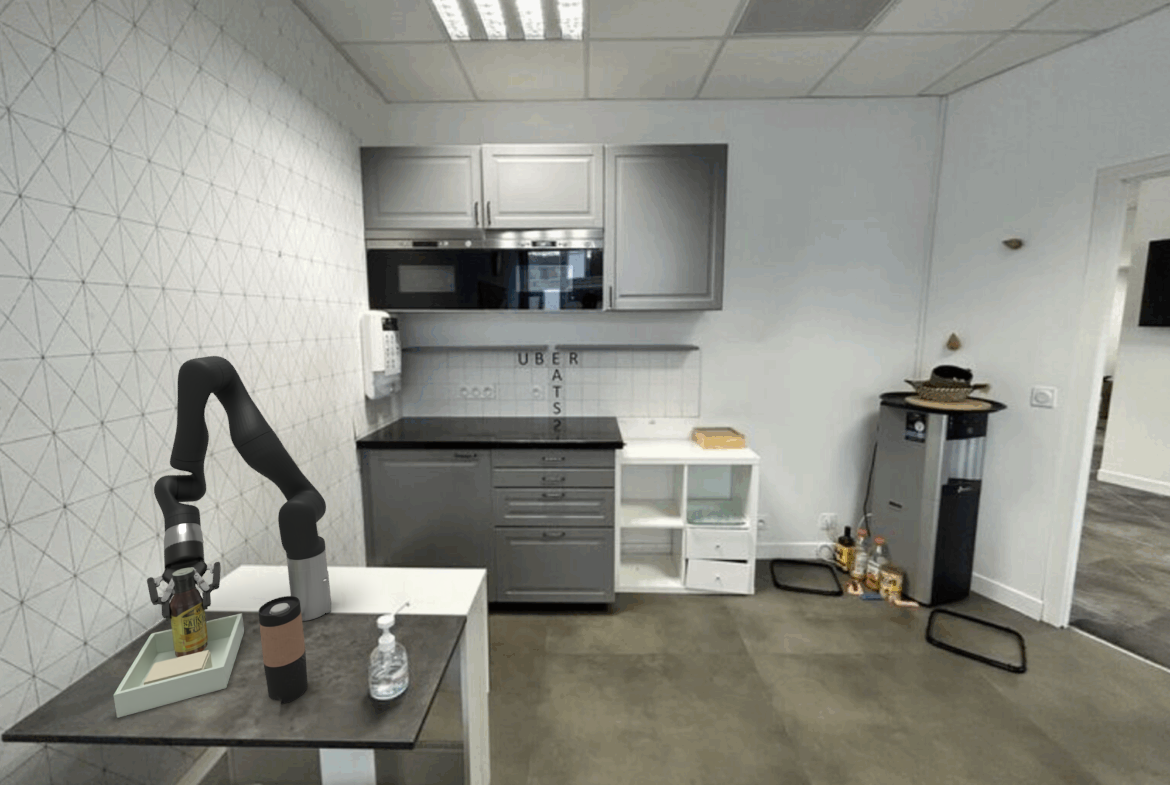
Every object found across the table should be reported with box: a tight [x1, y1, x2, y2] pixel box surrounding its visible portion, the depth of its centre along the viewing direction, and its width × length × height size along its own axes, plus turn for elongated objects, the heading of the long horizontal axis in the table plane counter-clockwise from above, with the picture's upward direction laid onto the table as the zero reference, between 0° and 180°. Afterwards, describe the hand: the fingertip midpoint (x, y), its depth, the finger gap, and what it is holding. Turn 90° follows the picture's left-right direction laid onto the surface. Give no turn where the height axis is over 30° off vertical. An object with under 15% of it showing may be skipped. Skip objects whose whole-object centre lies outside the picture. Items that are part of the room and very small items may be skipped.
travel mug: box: [258, 595, 308, 705], centre depth 105 cm, size 8×8×20 cm
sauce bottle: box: [170, 568, 208, 657], centre depth 115 cm, size 7×6×20 cm
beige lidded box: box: [143, 650, 212, 685], centre depth 107 cm, size 10×7×5 cm
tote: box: [113, 612, 245, 719], centre depth 112 cm, size 18×22×6 cm
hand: (187, 613), depth 114 cm, fingers closed on sauce bottle, 6 cm apart
